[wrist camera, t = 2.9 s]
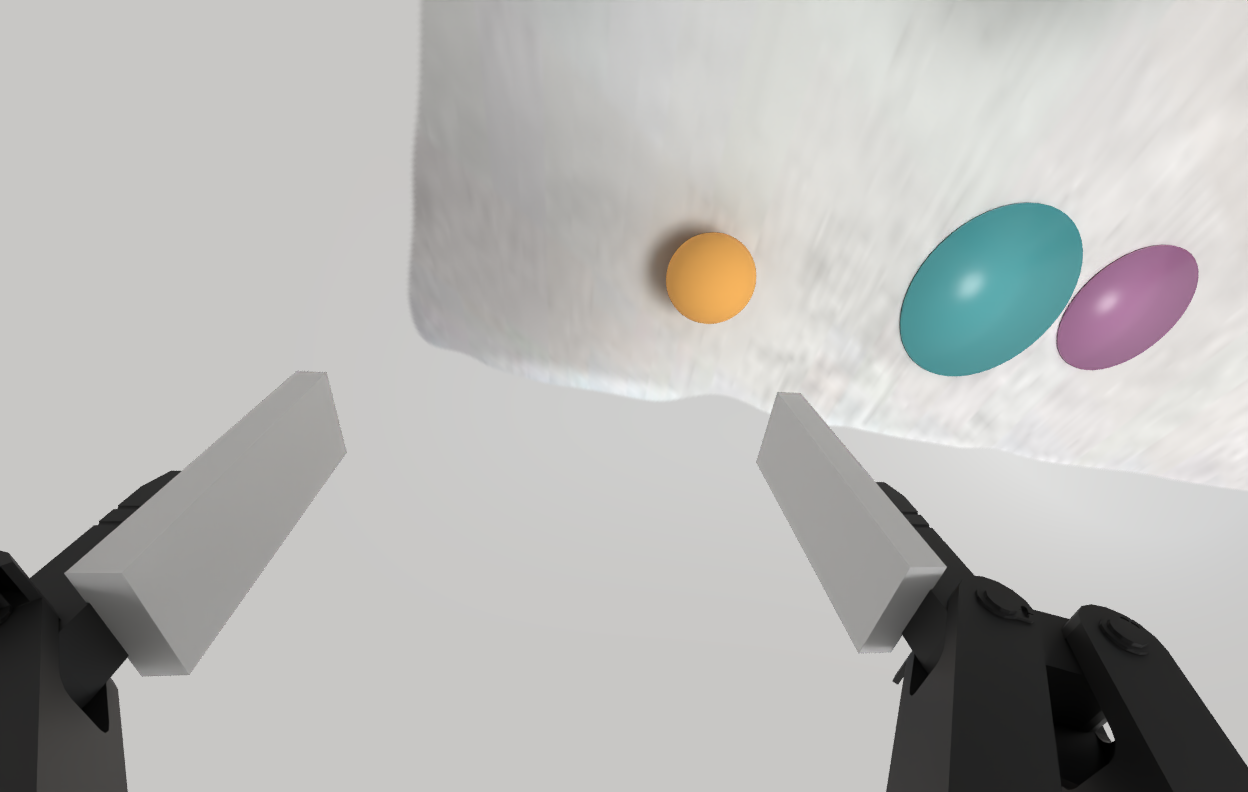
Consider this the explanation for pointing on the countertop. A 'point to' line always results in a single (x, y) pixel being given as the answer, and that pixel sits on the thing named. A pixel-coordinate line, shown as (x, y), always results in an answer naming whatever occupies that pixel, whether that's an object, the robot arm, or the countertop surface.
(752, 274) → the ball
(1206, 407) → the countertop surface
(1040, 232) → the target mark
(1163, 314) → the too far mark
